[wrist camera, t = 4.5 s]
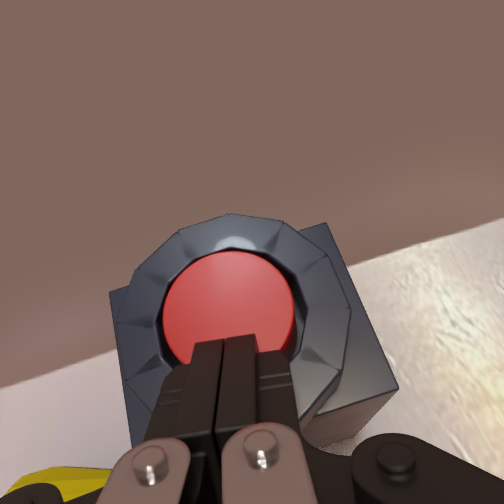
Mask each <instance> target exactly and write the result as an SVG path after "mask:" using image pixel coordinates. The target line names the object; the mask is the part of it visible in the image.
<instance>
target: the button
mask: <svg viewBox="0 0 504 504" xmlns="http://www.w3.org/2000/svg"><path fill="white" fill-rule="evenodd" d="M163 329H164V334H165V337H166V340H167V343H168V345H169V347H170V349H171V350H172V352H173V353H174V355H175V356H176V357H177V358H178V359H179V361H181V362H182V363H183V364H190V360H191V357H192V353H193V349H194V345H195V343H197V342H203V341H209V340H216V339H222V338H225V340H226V338H228V337H234V336H240V335H247V334H253V333H255V335H256V339H257V343H258V349H259V353H260V352H266V351H272V350H280V351H281V352H282V353H283V354H284V355H285V356H286V357H287V358H288V359H289V361H290V360H291V359H292V357H293V355H294V352H295V349H296V344H297V325H296V317H295V308H294V301H293V296H292V293H291V289H290V287H289V285H288V283H287V281H286V279H285V278H284V276H283V275H282V274H281V273H280V271H279V270H278V269H277V268H276V267H275V266H273V265H272V264H271V263H270V262H268V261H267V260H265V259H263V258H261V257H259V256H257V255H254V254H251V253H246V252H241V251H225V252H218V253H214V254H211V255H208V256H206V257H203V258H201V259H200V260H198V261H196V262H194V263H193V264H191V265H190V266H189V267H188V268H186V269H185V270H184V271H183V272H182V273H181V274H180V275H179V276H178V278H177V279H176V280H175V282H174V283H173V285H172V287H171V288H170V290H169V293H168V295H167V297H166V301H165V304H164V309H163Z"/></svg>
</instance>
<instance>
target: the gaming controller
mask: <svg viewBox="0 0 504 504" xmlns="http://www.w3.org/2000/svg"><path fill="white" fill-rule="evenodd" d="M111 471H112V469H99V468H83V467H51V468H48V469H45V470H41V471H38V472H35V473H31V474H28V475H26V476H23V477H21V478H20V479H19V480H18V481H17V482H16V483H15V484H14V485H13V486H12V487H11V488H10V489H9V490H8V492H7V493H6V494H8V493H10V492H12V491H14V490H16V489H18V488H20V487H23V486H26V485H30V484H34V483H49V484H53V485H55V486H56V487H57V488H58V489H59V490H60V492H61V495H62V498H63V500H64V502H66V501H69V500H72V499H74V498H77V497H79V496H82V495H84V494H87V493H89V492H92V491H95V490H97V489H99V488H101V487H104V486H105V484H106V482H107V479H108V477H109V475H110V473H111ZM6 494H5V495H6Z"/></svg>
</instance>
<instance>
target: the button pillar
mask: <svg viewBox="0 0 504 504" xmlns="http://www.w3.org/2000/svg"><path fill="white" fill-rule="evenodd" d="M225 251H241V252H246V253H251V254H254V255H257V256H259V257H261V258H263V259H265V260H267V261H268V262H270V263H271V264H272V265H273V266H275V267H276V268H277V269H278V270H279V271H280V273H281V274H282V275H283V276H284V278H285V279H286V281H287V283H288V285H289V287H290V289H291V293H292V296H293V301H294V308H295V317H296V325H297V344H296V349H295V352H294V355H293V357H292V359H291V360H290V361H289V363H290V369H291V375H292V381H293V387H294V393H295V399H296V405H297V411H298V417H299V423H300V430H301V434H302V436H303V437H304V439H305V440H306V441H307V442H308V443H309V444H310V445H312V446H313V447H315V448H320V447H323V446H326V445H329V444H332V443H335V442H338V441H341V440H344V439H347V438H350V437H353V436H355V435H356V434H357V433H358V432H359V431H360V430H361V429H362V428H363V427H364V426H365V425H366V424H367V423H368V422H369V421H370V420H371V418H372V417H373V416H374V415H375V414H376V413H377V412H378V411H379V410H380V409H381V408H382V407H383V406H384V405H385V404H386V403H387V402H388V400H389V399H390V398H391V397H392V396H393V395H394V394H395V393H396V392H397V391H398V390H399V386H398V383H397V381H396V379H395V377H394V374H393V372H392V370H391V367H390V365H389V363H388V361H387V358H386V356H385V354H384V352H383V349H382V347H381V345H380V343H379V340H378V338H377V336H376V333H375V331H374V329H373V327H372V324H371V322H370V320H369V318H368V315H367V313H366V311H365V309H364V306H363V304H362V302H361V299H360V297H359V295H358V293H357V290H356V288H355V286H354V284H353V281H352V279H351V277H350V275H349V272H348V270H347V268H346V265H345V263H344V261H343V259H342V256H341V254H340V252H339V250H338V247H337V245H336V243H335V241H334V238H333V236H332V234H331V231H330V229H329V227H328V225H327V223H326V222H324V223H321V224H318V225H315V226H312V227H309V228H306V229H302V230H299V231H296V230H295V229H294V228H292V227H291V226H289V225H288V224H287V223H284V221H281V220H274V219H266V218H259V217H252V216H245V215H238V214H226V215H224V216H220V217H217V218H214V219H211V220H208V221H204V222H201V223H198V224H195V225H192V226H189V227H186V228H183V229H179V230H178V232H176V233H174V234H173V235H172V236H171V237H170V238H169V239H168V240H167V241H166V242H165V243H164V244H162V245H161V246H160V247H159V248H158V249H157V250H156V251H155V252H154V253H153V254H152V255H151V256H150V257H148V258H147V259H146V260H145V261H144V262H143V263H142V264H141V265H140V266H139V267H138V268H137V269H136V270H135V271H134V274H133V276H132V279H131V282H130V285H128V286H125V287H122V288H119V289H116V290H113V291H110V292H109V297H110V304H111V311H112V318H113V325H114V331H115V338H116V345H117V351H118V358H119V365H120V372H121V378H122V385H123V392H124V398H125V405H126V412H127V418H128V425H129V432H130V439H131V445H132V448H134V447H135V446H137V445H139V444H141V443H142V442H143V440H144V437H145V434H146V431H147V428H148V425H149V422H150V419H151V416H152V413H153V410H154V407H156V401H157V398H158V395H160V390H161V387H162V384H163V381H164V378H165V377H166V376H167V375H168V374H169V373H170V372H171V371H172V370H173V369H174V368H175V367H176V366H177V365H184V364H183V363H182V362H181V361H179V359H178V358H177V357H176V356H175V355H174V353H173V352H172V350H171V349H170V347H169V345H168V343H167V340H166V337H165V334H164V329H163V309H164V304H165V301H166V297H167V295H168V293H169V290H170V288H171V287H172V285H173V283H174V282H175V280H176V279H177V278H178V276H179V275H180V274H181V273H182V272H183V271H184V270H185V269H186V268H188V267H189V266H190V265H191V264H193V263H194V262H196V261H198V260H200V259H201V258H203V257H206V256H208V255H211V254H214V253H218V252H225Z"/></svg>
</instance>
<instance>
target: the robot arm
mask: <svg viewBox="0 0 504 504" xmlns="http://www.w3.org/2000/svg"><path fill="white" fill-rule="evenodd" d="M0 504H504V480H502V479H500V478H498V477H496V476H494V475H492V474H490V473H488V472H486V471H484V470H482V469H480V468H478V467H476V466H474V465H472V464H470V463H468V462H466V461H464V460H462V459H460V458H458V457H456V456H454V455H452V454H449V453H447V452H445V451H443V450H441V449H439V448H437V447H435V446H433V445H431V444H429V443H427V442H425V441H423V440H421V439H419V438H416V437H413V436H410V435H406V434H400V433H385V434H379V435H376V436H372V437H370V438H368V439H366V440H364V441H363V442H361V443H360V444H359V445H358V446H357V447H356V448H355V450H354V451H353V453H352V455H351V456H344V455H336V454H330V453H327V452H323V451H321V450H319V449H317V448H315V447H313V446H312V445H310V444H309V443H308V442H307V441H306V440H305V439H304V437H303V436H302V434H301V430H300V423H299V417H298V411H297V405H296V399H295V393H294V387H293V381H292V375H291V369H290V363H289V359H288V358H287V357H286V356H285V355H284V354H283V353H282V352H281V351H280V350H272V351H266V352H260V353H259V349H258V343H257V339H256V335H255V333H253V334H247V335H240V336H234V337H228V338H226V340H225V338H222V339H216V340H209V341H203V342H197V343H195V345H194V349H193V353H192V357H191V360H190V364H184V365H177V366H176V367H175V368H174V369H173V370H172V371H171V372H170V373H169V374H168V375H167V376H166V377H165V378H164V381H163V384H162V387H161V390H160V395H158V398H157V401H156V407H154V410H153V413H152V416H151V419H150V422H149V425H148V428H147V431H146V434H145V437H144V440H143V442H142V443H141V444H139V445H137V446H135V447H134V448H132V449H130V450H129V451H128V452H126V453H125V454H124V455H123V456H122V457H121V458H120V459H119V460H118V461H117V463H116V464H115V466H114V468H113V469H112V471H111V473H110V475H109V477H108V479H107V482H106V484H105V486H104V487H101V488H99V489H97V490H95V491H92V492H89V493H87V494H84V495H82V496H79V497H77V498H74V499H72V500H69V501H66V502H64V500H63V498H62V495H61V492H60V490H59V489H58V488H57V487H56V486H55V485H53V484H49V483H34V484H30V485H26V486H23V487H20V488H18V489H16V490H14V491H12V492H10V493H8V494H6V495H4V496H3V497H1V498H0Z"/></svg>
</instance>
